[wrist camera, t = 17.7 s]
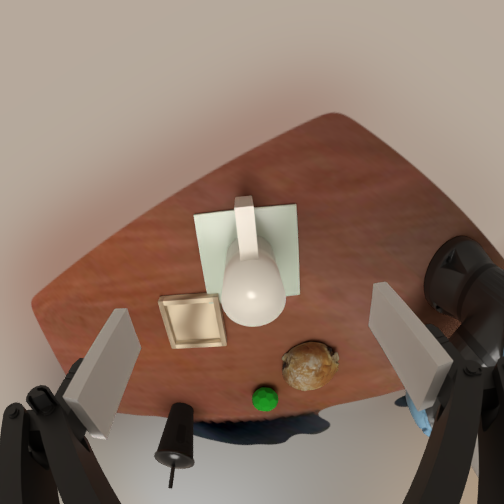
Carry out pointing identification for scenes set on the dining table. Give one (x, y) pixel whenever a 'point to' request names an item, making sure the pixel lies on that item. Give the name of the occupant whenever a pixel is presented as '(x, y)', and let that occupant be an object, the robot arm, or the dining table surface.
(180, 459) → the drinking cup
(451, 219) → the dining table surface
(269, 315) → the white cylinder with tab
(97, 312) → the dining table surface
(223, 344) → the holder
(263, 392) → the polyhedron
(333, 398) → the dining table surface
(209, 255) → the plate
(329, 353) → the bread roll
